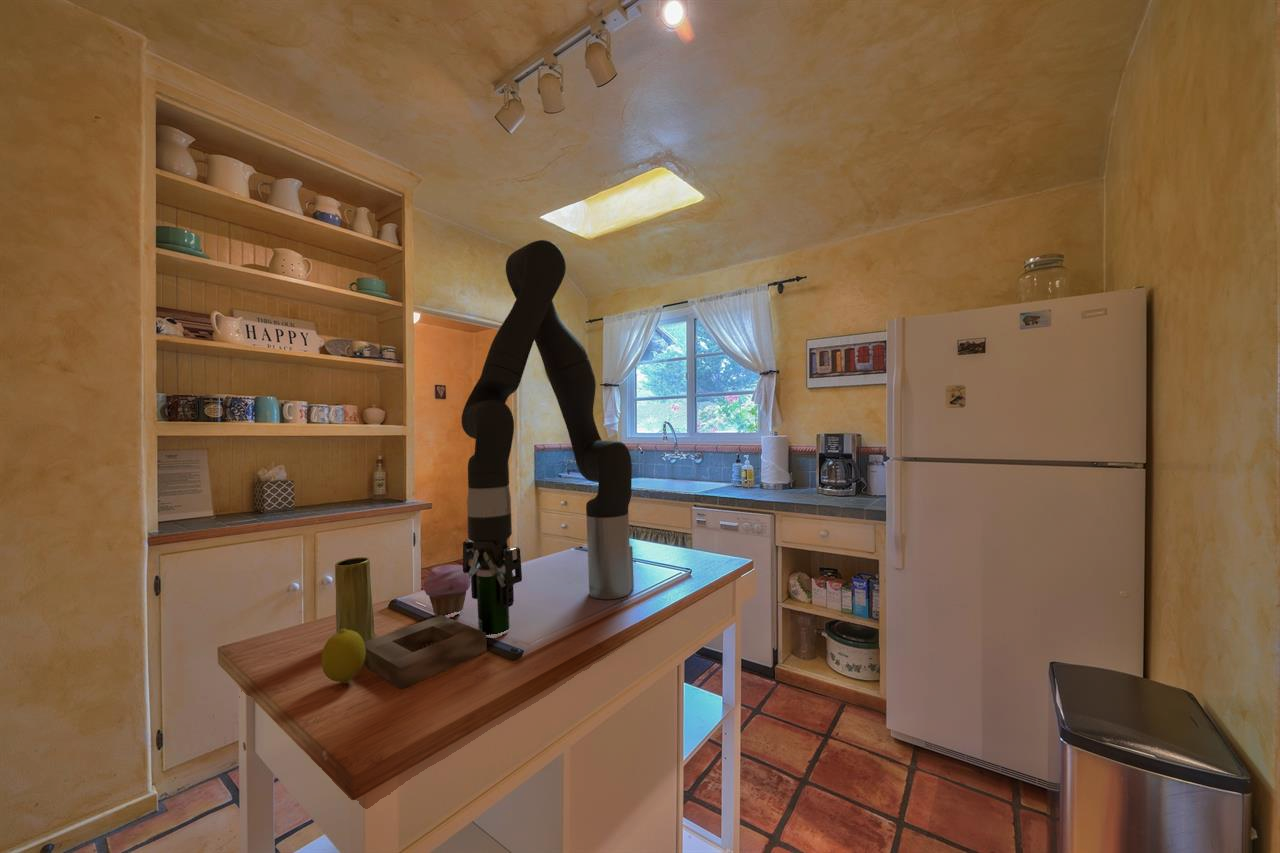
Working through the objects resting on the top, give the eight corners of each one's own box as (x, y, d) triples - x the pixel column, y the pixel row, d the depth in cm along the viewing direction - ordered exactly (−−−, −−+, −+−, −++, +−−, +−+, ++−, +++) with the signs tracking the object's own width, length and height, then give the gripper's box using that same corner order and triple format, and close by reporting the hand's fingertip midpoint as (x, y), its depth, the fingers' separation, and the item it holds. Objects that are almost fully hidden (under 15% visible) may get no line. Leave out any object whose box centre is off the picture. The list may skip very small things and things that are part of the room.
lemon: (349, 671, 75) (347, 619, 75) (375, 676, 73) (373, 623, 73) (313, 690, 69) (311, 634, 69) (340, 696, 67) (338, 639, 67)
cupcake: (420, 614, 97) (418, 564, 97) (464, 603, 102) (462, 556, 102) (431, 628, 90) (429, 574, 90) (477, 616, 95) (476, 565, 95)
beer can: (487, 642, 83) (484, 572, 83) (473, 633, 87) (470, 567, 87) (515, 632, 87) (512, 565, 87) (500, 624, 90) (498, 560, 90)
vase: (337, 653, 81) (334, 568, 81) (332, 641, 86) (329, 561, 85) (378, 642, 85) (375, 560, 85) (371, 631, 89) (368, 554, 89)
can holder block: (441, 631, 88) (440, 614, 88) (486, 651, 80) (486, 632, 80) (359, 662, 77) (358, 644, 77) (401, 689, 69) (401, 668, 69)
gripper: (531, 511, 85) (534, 603, 85) (484, 505, 94) (486, 589, 94) (495, 518, 79) (498, 617, 79) (448, 511, 88) (450, 600, 88)
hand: (491, 602), depth 86 cm, fingers open, 8 cm apart
